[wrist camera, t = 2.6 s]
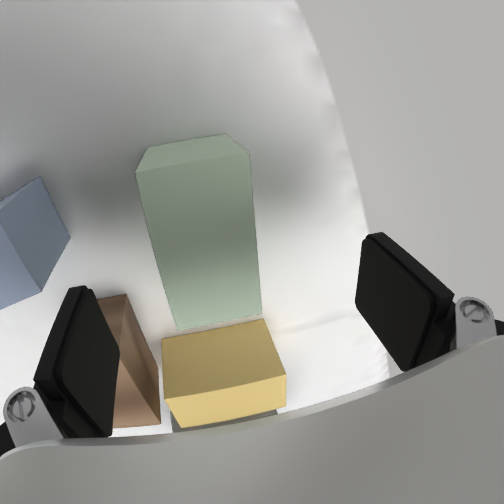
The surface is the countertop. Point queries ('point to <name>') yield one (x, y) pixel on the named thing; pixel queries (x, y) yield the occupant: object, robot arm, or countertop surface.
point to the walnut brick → (132, 367)
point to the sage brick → (202, 228)
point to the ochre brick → (222, 374)
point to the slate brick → (28, 242)
